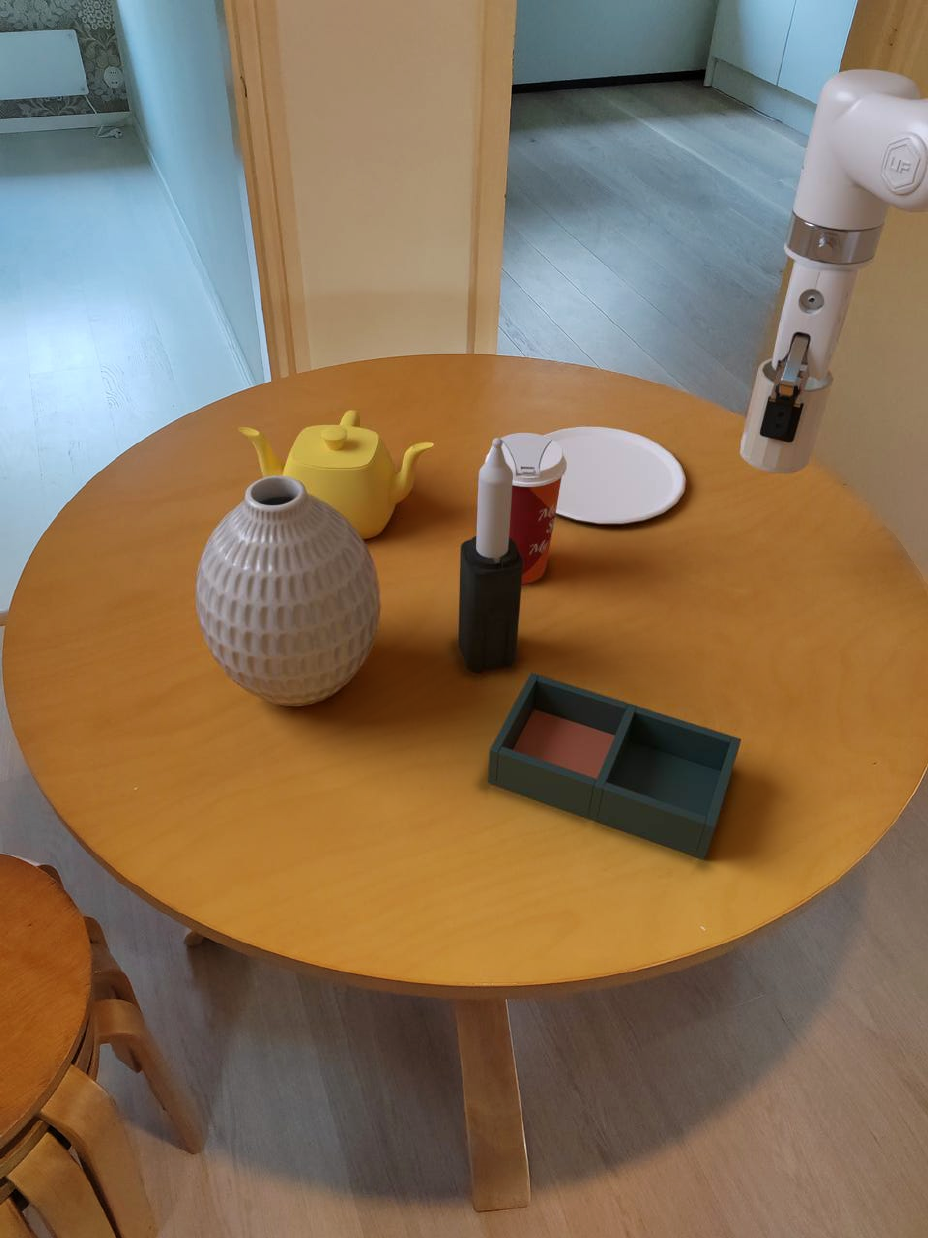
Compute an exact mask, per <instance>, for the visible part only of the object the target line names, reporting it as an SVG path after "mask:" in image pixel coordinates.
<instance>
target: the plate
mask: <svg viewBox="0 0 928 1238" xmlns="http://www.w3.org/2000/svg"><path fill="white" fill-rule="evenodd" d="M542 436H545V437H547V438H550V439H552V440H554V441H555V442H556V443H558V445H559V446H560V447H561V449H562V451H563V456H564V458H565V460H566V463H567V468H566V471H565V473H564V475H563V476H562V478H561V484H560V490H559V496H558V502H557V508H556V514H555V515H557V516H561V517H563V518H565V519H569V520H572V521H575V522H580V523H586V524H592V525H598V526H599V525H600V526H624V525H630V524H636V523H641V522H646V521H649V520H651V519H654V518H656V517H659V516H661V515H664V514H665V513H667V512H668V511H669V510H670V509H672V508H674V507H675V506H676V505H677V504H678V502H679V501H680V499H681V498H682V496H683V495H684V494H685V490H686V489H685V488H686V483H687V478H686V473H685V472H684V469H683V466H682V465H681V463H680V462H679V461H678V459H676V457H675V456H674V454H673V453H671V452H670V451H669V450H667V448H665V447H664V446H663V445H661V444H660V443H658V442H656V441H653V440H652V439H649V438H647V437H645V436H643V435H641V434H637V433H634V432H630V431H627V430H623V429H619V428H611V427H606V426H577V427H576V426H575V427H569V428H561V429H559V430H555V431H552V432H549V433H546V434H543V435H542Z"/></svg>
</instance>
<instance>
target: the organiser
mask: <svg viewBox="0 0 928 1238" xmlns="http://www.w3.org/2000/svg"><path fill="white" fill-rule="evenodd" d="M741 742H742V739H741V738H739V737H737V736H734V735H730V734H727V733H723V732H722V731H721V732H720V731H717V730H714V729H711V728H708V727H704V726H701V725H698V724H695V723H692V722H689V721H686V720H682V719H679V718H676V717H673V716H670V715H667V714H664V713H660V712H658V711H654V710H651V709H648V708H645V707H643V706H638V705H636V704H633V703H628V702H626V701H624V700H619V699H616V698H613V697H611V696H607V695H604V694H601V693H597V692H594V691H592V690H588V689H585V688H582V687H580V686H576V685H573V684H569V683H566V682H564V681H560V680H558V679H553V678H551V677H548V676H544V675H542V674H539V673H536V672H530V674H529V676H528V677H527V679H526V681H525V683H524V685H523V686H522V689H521V690H520V692H519V694H518V696H517V697H516V700H515V702H514V703H513V705H512V708H510V711H509V712H508V714H507V717H506V718H505V720H504V722H503V723H502V726H501V728H500V729H499V731H498V733H497V735H496V737H495V739H494V740H493V743H492V744H491V746H490V748H489V754H488V755H489V757H488V773H487V774H488V775H487V784H489V785H493V786H495V787H497V788H501V789H503V790H505V791H508V792H512V793H515V794H518V795H520V796H523V797H526V798H528V799H532V800H534V801H537V802H540V803H543V804H546V805H549V806H551V807H554V808H557V809H560V810H563V811H565V812H568V813H571V814H574V815H576V816H579V817H581V818H585V819H587V820H591V821H593V822H596V823H599V824H601V825H605V826H607V827H610V828H613V829H616V830H619V831H622V832H625V833H627V834H630V835H633V836H636V837H638V838H641V839H644V840H647V841H648V842H649V841H650V842H652V843H655V844H658V845H661V846H663V847H665V848H669V849H672V850H674V851H678V852H681V853H683V854H686V855H689V856H691V857H695V858H697V859H700V860H703V861H705V860H706V857H707V855H708V852H709V848H710V845H711V842H712V839H713V836H714V832H715V830H716V827H717V823H718V819H719V816H720V814H721V813H720V812H721V809H722V806H723V803H724V801H725V800H724V799H725V796H726V793H727V789H728V786H729V782H730V779H731V775H732V773H733V769H734V765H735V762H736V759H737V755H738V752H739V748H740V745H741Z"/></svg>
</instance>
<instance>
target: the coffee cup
mask: <svg viewBox="0 0 928 1238" xmlns="http://www.w3.org/2000/svg"><path fill="white" fill-rule="evenodd" d="M499 438H500V439H501V440H502V442H503V444H502V446H501V447H502V451H503V454H504V458H505V461H506V463H507V464H508V465H509V467H510V468H511V470H512V472H513V482H512V498H511V513H510V528H509V537H510V538H511V539H512V540H513V541H514V542H515V543H516V545H517V549H518V551H519V553H520V555H521V557H522V559H523V574H522V585H527V584H531V583H534V582H536V581H539V579H540V578H542V577H543V575H544V574H545V571H546V567H547V563H548V558H549V553H550V547H551V542H552V537H553V530H554V526H555V518H556V515H557V514H556V508H557V502H558V496H559V490H560V484H561V478H562V476H563V475H564V473H565V471H566V468H567V463H566V460H565V458H564V456H563V451H562V449H561V447H560V446H559V445H558V443H556V442H555V441H554V440H552V439H550V438H547V437H545V436H543V435H542V434H538V433H533V432H515V433H511V434H508V435H505V436H502V437H499ZM492 449H493V444H492V445H491V447H490V450H489V452H488V453H487V455H486V456H485V461H484V464H485V463H486V462H487V461H488V458H489V456H490V453H491V451H492Z"/></svg>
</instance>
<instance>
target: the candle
mask: <svg viewBox="0 0 928 1238" xmlns="http://www.w3.org/2000/svg"><path fill="white" fill-rule="evenodd" d="M500 438H501V437H495V438H494V439H493V440H492V442H491V443H492V445H493V449H492V451H491V453H490V456H489V458H488V461H487V462H486V463H485V462H484V464H483V465H482V466H481V467H480V469H479V471H478V485H477V486H478V487H477V488H478V489H477V511H476V513H477V514H476V517H477V519H476V535H475V536H473V537H472V538H470V539H467V540H464V542H462V544H461V545H460V553H459V556H460V557H459V593H458V594H459V596H458V597H459V598H458V599H459V601H458V641H457V643H458V644H457V647H458V649H459V653H460V654H461V655H460V656H461V658H462V660H463V662H464V665H465V667H466V669H467V670H468V671H469V672H472V673H475V674H481V673H483V672H484V671H489V670H495V669H500V668H505V669H507V668H510V667H512V666H514V665H515V663H516V659H517V649H518V648H517V647H518V636H519V635H518V633H519V622H520V611H521V610H520V608H521V597H522V596H521V595H522V585H523V584H522V574H523V559H522V557H521V555H520V553H519V551H518V549H517V545H516V543H515V542H514V541H513V540H512V539H511V538H510V537H509V528H510V513H511V498H512V482H513V472H512V470H511V468H510V467H509V465H508V464H507V463H506V461H505V458H504V454H503V451H502V447H501V446H502V444H503V442H502V440H501V439H500Z"/></svg>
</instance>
